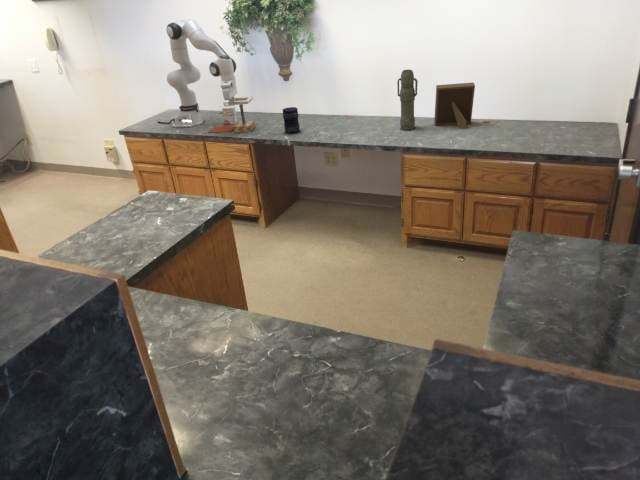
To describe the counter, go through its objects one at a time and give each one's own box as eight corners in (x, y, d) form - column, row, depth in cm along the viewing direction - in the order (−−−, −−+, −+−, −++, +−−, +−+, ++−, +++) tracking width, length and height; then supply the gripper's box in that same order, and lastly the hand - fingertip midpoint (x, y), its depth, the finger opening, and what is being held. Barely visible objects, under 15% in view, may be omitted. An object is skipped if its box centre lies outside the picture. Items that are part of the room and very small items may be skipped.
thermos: (416, 130, 311) (416, 71, 295) (397, 130, 314) (396, 72, 298) (417, 126, 319) (418, 68, 302) (399, 126, 322) (398, 69, 305)
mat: (208, 132, 348) (208, 132, 348) (214, 127, 360) (214, 126, 360) (231, 131, 346) (231, 131, 346) (236, 125, 358) (236, 125, 358)
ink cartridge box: (224, 124, 364) (220, 104, 357) (226, 122, 369) (222, 102, 362) (236, 123, 363) (232, 103, 356) (237, 122, 367) (234, 101, 361)
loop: (227, 105, 333) (227, 102, 333) (233, 100, 345) (232, 97, 345) (248, 104, 332) (247, 101, 331) (252, 99, 344) (252, 96, 343)
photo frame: (434, 123, 320) (435, 83, 308) (469, 121, 318) (471, 80, 306) (437, 130, 307) (438, 88, 295) (474, 128, 305) (476, 85, 293)
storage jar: (291, 129, 338) (289, 106, 331) (303, 130, 332) (300, 107, 325) (281, 133, 331) (279, 110, 324) (293, 134, 326) (290, 111, 319)
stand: (234, 132, 343) (229, 106, 335) (238, 127, 353) (234, 102, 345) (251, 131, 341) (247, 105, 333) (255, 126, 352) (251, 101, 343)
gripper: (228, 79, 337) (231, 100, 343) (219, 85, 319) (223, 108, 325) (237, 78, 336) (240, 99, 342) (229, 85, 318) (232, 107, 324)
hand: (232, 103), depth 334 cm, fingers closed on loop, 2 cm apart
